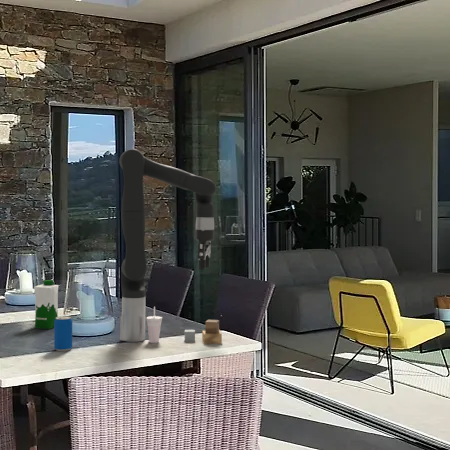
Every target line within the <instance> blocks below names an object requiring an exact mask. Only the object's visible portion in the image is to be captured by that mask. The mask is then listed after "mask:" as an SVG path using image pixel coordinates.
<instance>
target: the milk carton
mask: <svg viewBox="0 0 450 450" xmlns="http://www.w3.org/2000/svg"><path fill="white" fill-rule="evenodd" d="M33 288H34V295H35V301H34V302H35V303H34V304H35V308H34V310H35V317H34V318H35V320H34V323H35V324H34V329H42V330H44V329H45V330H47V329H48V330H52V329H54V321H55V319H56V317H59V316H58V315H59V314H58V311H59V307H58V295H59V284H54V280H53V279H45V280H43V284H38V285H36V286H34V287H33Z"/></svg>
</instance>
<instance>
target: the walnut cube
mask: <svg viewBox="0 0 450 450" xmlns="http://www.w3.org/2000/svg"><path fill="white" fill-rule="evenodd" d="M204 322H205V326H204V327H205V329H204V331H205V333H212V334H217V333H218V332H219V330H220V320H218V319H207V320H206V321H204Z"/></svg>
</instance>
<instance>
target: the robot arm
mask: <svg viewBox="0 0 450 450" xmlns="http://www.w3.org/2000/svg"><path fill="white" fill-rule="evenodd" d="M118 160H119V161H118V164H119V166H120V169H122V176H123V191H122V192H123V193H122V197H121V209H120V211H121V216H120V217H121V218H120V219H121V227H122V234H123V237H124V242H125V258H124V259H123V261H122V263H121V266H120V269H121V270H120V283H121V285H120V286H121V297H122V298H121V316H119V319H120V320H119V333H120V334H119V341H123V342H127V343H130V342H131V343H132V342H133V343H135V342H143V341H145V340H146V292H147V291H146V287H145V276H146V274H147V271H148V267H147V266H148V265H147V258H146V251H145V238H146V237H145V236H146V208H145V207H146V205H145V194H144V186H143V185H144V183H143V182H144V176H146V177H150V178H153V179H155V180H159V181H160V182H164V183H166V184H168V185H171V186H173V187H177V188H179V189H182V190H185V191H190V192H193V193H194V194H195V195H194V196H195V201H196V203H195V204H196V212H195V213H196V214H195V215H196V220H195V241H200V243H198V244H197V260H199V264H198V265H199V270H200V271H201V270H206V268H209V267H210V259H211V256H212V242H211V241H214V240H215V219H214V217H215V215H214V214H215V210H214V209H215V207H214V203H213V199H212V198H213V197H212V195H214V193H215V192H216V189H217V188H216V184H215V182H214V181H213V180H211V179H208V178H206V177H203V176H200V175H199V176H198V175H195V174H193V173H190V172H188V171H185V170H183V169H180V168H176V167H173V166H170V165H166V164H162V163H159V162H157V161H153V160H151V159H149V158H147V157H145V156H144V155H143V153H142V152H141V151H140V150H138V149H136V148H130V149H127V150H125V151H124V152H122V153H121V155H120V156H119V159H118Z"/></svg>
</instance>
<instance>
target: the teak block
mask: <svg viewBox="0 0 450 450" xmlns="http://www.w3.org/2000/svg"><path fill="white" fill-rule="evenodd" d="M201 331H202V333H201V337H202V338H201V339H202V343H203V344H204V345H205V344H206V345H208V344H209V345H210V344H211V345H213V344H215V345H216V344H221V345H222V343H223V342H222V341H223V339H222V337H223V335H222V332H221V330H220V329H219V332H218V333H217V334H212V333H205V330H201Z"/></svg>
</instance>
